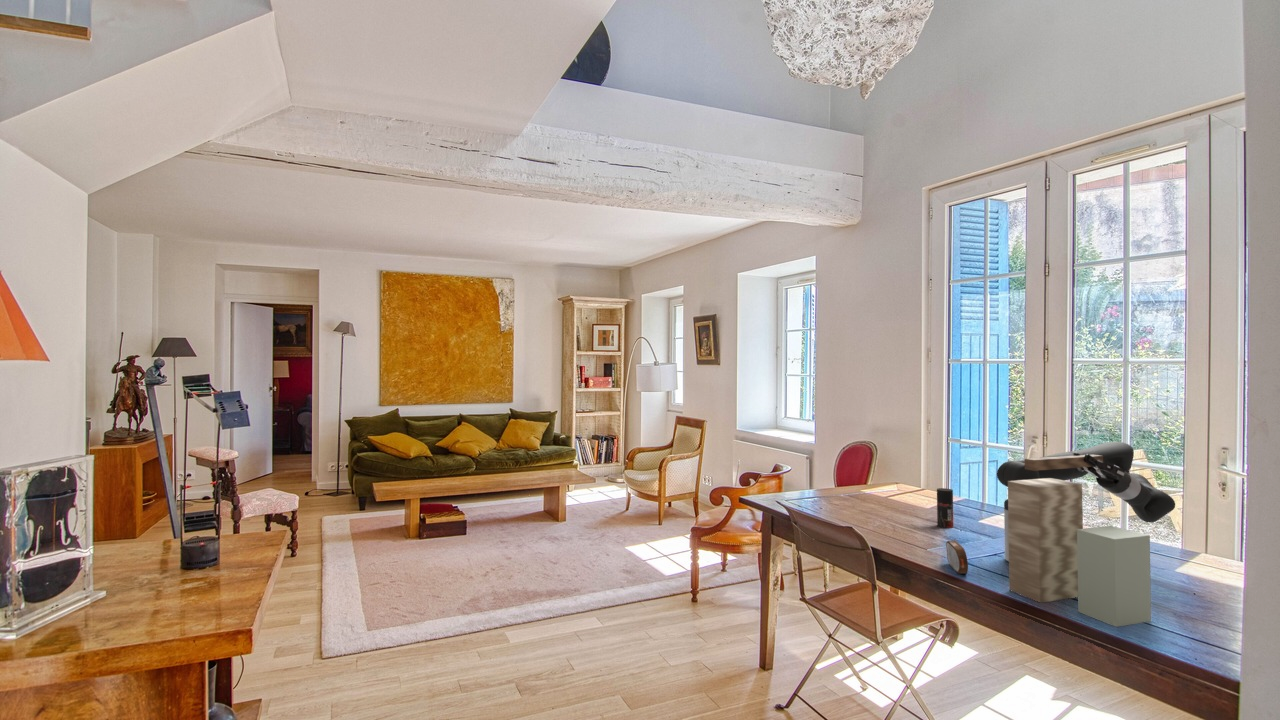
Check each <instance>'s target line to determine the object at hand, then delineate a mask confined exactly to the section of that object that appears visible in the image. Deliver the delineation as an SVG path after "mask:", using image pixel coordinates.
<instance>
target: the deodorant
mask: <svg viewBox="0 0 1280 720" xmlns="http://www.w3.org/2000/svg"><path fill="white" fill-rule="evenodd" d="M936 518H937V519H936V520H937V524H936V525H937V527H938V526H939V528H942V527H943V528H942V529H953V528H954V490H953V489H952V488H944V487H941V488H936Z"/></svg>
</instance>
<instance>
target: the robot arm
mask: <svg viewBox="0 0 1280 720" xmlns="http://www.w3.org/2000/svg"><path fill="white" fill-rule="evenodd" d="M1134 452H1135V451H1134V448H1133V446H1131V445H1130V444H1129V443H1126V442H1123V441H1108V442H1103V443H1100V444H1097V445H1093V446H1090V447H1087V448H1083V449H1079V450H1071V451H1065V452H1060V453H1055V454H1051V455H1045V456H1041V457H1039V458H1044V457H1060V456H1077V455H1085V458H1084V461H1085V462H1086V463H1088V464H1089V465H1091V466H1094V467H1080V468H1066V469H1052V470H1037V471H1033V470H1027V469H1025V459H1022V460H1021V459H1020V460H1008V461H1005V462H1003V463H1002V464H1001V465H999V467H998V469H996V470H997V471H996V479H998V481H999V483H1000V484H1001V485H1003V486H1005V487H1007V488H1008V481H1016V480H1029V479H1043V478H1053V479H1059V480H1064V481H1068V480H1069V481H1071V480H1074V479H1075V480H1076V479H1080V478H1083V477H1085V476H1087V475H1088V474H1089V475H1091V476H1093V477H1094V478H1095V481H1096V482H1097V484H1098V485H1099V486H1100V487H1102V488H1103V489H1104V490H1106V491H1108V492H1109V493H1111V494H1112V495H1113V496H1116V497H1118V498H1119V499H1121V500H1122V501H1124V502H1125V503H1127V504H1128V505H1129V506H1130V507H1131V509H1132V510H1133V512H1134V514H1135V515H1136V516H1137V517H1138V518H1139V519H1140V520H1141V521H1143V522H1145V523H1155V522H1158V521H1159V520H1161V519H1162V518H1164V517H1165V516H1167V515H1168V514H1169V513H1171V512H1172V511H1173V510H1174V509H1175V508H1176V501H1175V500H1174V498H1173V497H1172V496H1171V495H1169V494H1168V493H1166V492H1164V491H1163V490H1160V489H1158V488H1156V487H1154V485H1153V484H1151V482H1150V481H1149V480H1148V479H1147V477H1144V476H1143V475H1141V474H1138V473H1135V472H1131V468H1132V465H1133V460H1134V455H1135V453H1134ZM1092 454H1094V455H1101V456H1103V462H1101V461H1100V460H1096V459H1095V458H1093V457H1092V456H1090V455H1092ZM1003 509H1004V511H1003V515H1004V516H1003V517H1004V521H1003V522H1004V560H1005V561H1007V562H1008V563H1009V528H1008V498H1007V499H1005V500H1004V502H1003Z"/></svg>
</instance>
